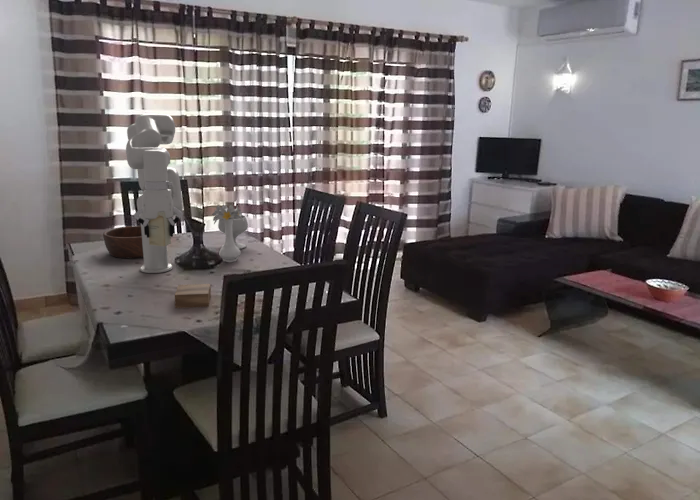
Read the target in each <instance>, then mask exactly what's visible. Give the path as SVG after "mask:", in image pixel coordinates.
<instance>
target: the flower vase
mask: <svg viewBox="0 0 700 500" xmlns="http://www.w3.org/2000/svg"><path fill="white" fill-rule="evenodd" d="M242 213H243V212H242V210H241V209H239V206H238V205H236V208H235V207H234V205H232V204H230V205H229V207H228V206H227V204H222V206H220V205H219V204H218V205H217V206H216V208H215V209H214V212H213V213H212V214H211V215H212V216H214V217H213V219H212V222H213V225H215V224H216V223H217V222H218V221H219V220H220V221H223V220H224V223H225V229H226V234H225V239H224V244H223V245H224V246H223V247H222V248H221V247H220V249H219V252H218V255H219V257H220V259H222V261H223V262H224V263H234V262H237V261H238V258H239V257H240V256H241V253H242V252H241V249H239V248H238V247H237V246H236V245H235V243H234V240H233V231H232V225H233V220H234V217H237V218H240V219H241V220H243V218H242V217H241V215H243V214H242ZM243 221H244V220H243Z"/></svg>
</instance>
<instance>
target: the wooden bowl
mask: <svg viewBox="0 0 700 500" xmlns="http://www.w3.org/2000/svg"><path fill="white" fill-rule="evenodd" d="M102 237H103V241H104V245H105V247H106V250H107V251H108V253H109V254H110V255H111V256H113V257H114V258H119V259H139V258H143V245H142V233H141V225H128V226H121V227H113V228H110V229H107V230H105V231H104V232H103V234H102Z"/></svg>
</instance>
